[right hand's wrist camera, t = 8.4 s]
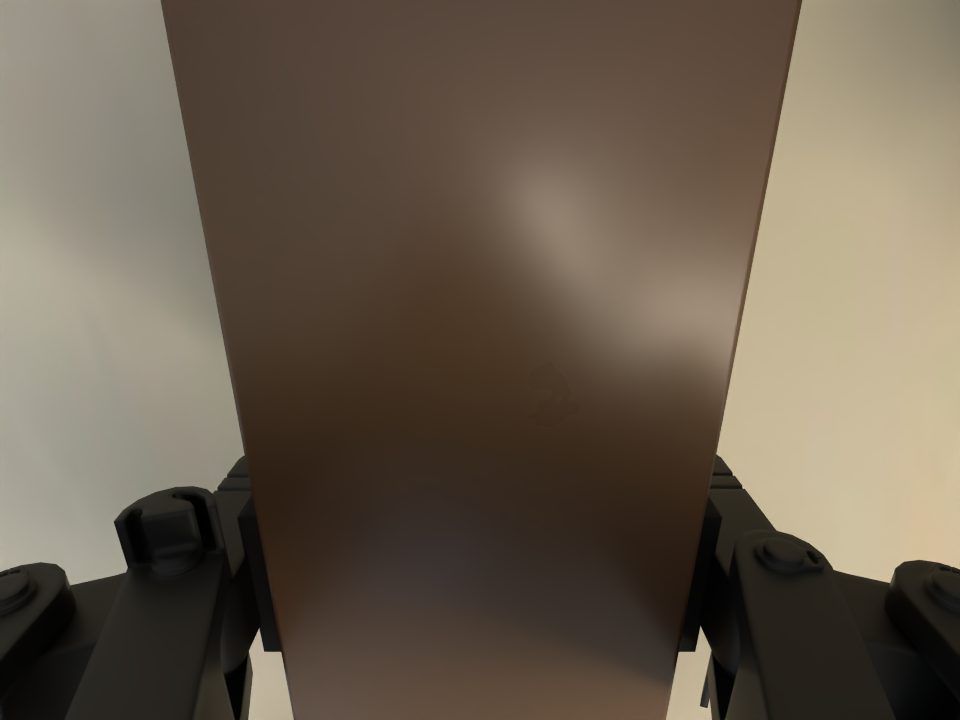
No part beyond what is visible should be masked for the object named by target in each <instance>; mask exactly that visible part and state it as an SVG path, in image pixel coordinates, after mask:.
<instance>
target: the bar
mask: <svg viewBox="0 0 960 720" xmlns="http://www.w3.org/2000/svg"><path fill="white" fill-rule="evenodd" d="M801 3H802V0H161V5H162V10H163V16H164V21H165V26H166V32H167V37H168V43H169V48H170V53H171V59H172V64H173V70H174V75H175V80H176V86H177V91H178V97H179V102H180V107H181V113H182V118H183V124H184V129H185V134H186V140H187V145H188V151H189V156H190V161H191V167H192V172H193V178H194V183H195V188H196V194H197V199H198V205H199V210H200V215H201V221H202V226H203V232H204V237H205V242H206V248H207V253H208V258H209V264H210V269H211V275H212V280H213V285H214V291H215V296H216V302H217V307H218V312H219V318H220V323H221V329H222V334H223V339H224V345H225V350H226V356H227V361H228V366H229V372H230V377H231V383H232V388H233V393H234V399H235V404H236V410H237V415H238V420H239V426H240V431H241V437H242V442H243V447H244V453H245V458H246V464H247V469H248V474H249V480H250V485H251V491H252V496H253V501H254V507H255V512H256V518H257V523H258V528H259V534H260V539H261V544H262V550H263V555H264V561H265V566H266V571H267V577H268V582H269V588H270V593H271V598H272V604H273V609H274V615H275V620H276V625H277V631H278V636H279V642H280V647H281V652H282V658H283V663H284V669H285V674H286V679H287V685H288V690H289V696H290V701H291V706H292V712H293V717H294V720H666V715H667V710H668V705H669V700H670V694H671V689H672V684H673V679H674V673H675V668H676V663H677V657H678V652H679V647H680V642H681V636H682V631H683V626H684V621H685V615H686V610H687V605H688V599H689V594H690V589H691V584H692V578H693V573H694V568H695V562H696V557H697V552H698V547H699V541H700V536H701V531H702V526H703V520H704V515H705V510H706V504H707V499H708V494H709V489H710V483H711V478H712V473H713V468H714V462H715V457H716V452H717V446H718V441H719V436H720V431H721V425H722V420H723V415H724V410H725V404H726V399H727V394H728V388H729V383H730V378H731V373H732V367H733V362H734V357H735V351H736V346H737V341H738V336H739V330H740V325H741V320H742V315H743V309H744V304H745V299H746V293H747V288H748V283H749V278H750V272H751V267H752V262H753V257H754V251H755V246H756V241H757V235H758V230H759V225H760V220H761V214H762V209H763V204H764V199H765V193H766V188H767V183H768V177H769V172H770V167H771V162H772V156H773V151H774V146H775V140H776V135H777V130H778V125H779V119H780V114H781V109H782V104H783V98H784V93H785V88H786V82H787V77H788V72H789V67H790V61H791V56H792V51H793V46H794V40H795V35H796V30H797V24H798V19H799V14H800V9H801Z"/></svg>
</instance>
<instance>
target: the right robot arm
mask: <svg viewBox="0 0 960 720" xmlns="http://www.w3.org/2000/svg"><path fill="white" fill-rule="evenodd" d="M114 524H115V527H116V530H117V534H118V537H119V540H120V543H121V547H122V550H123V553H124V556H125V560H126V563H127V566H128V569H127V571H126V573H122V574H119V575H115V576H111V577H107V578H102V579H98V580H93V581H88V582H84V583H79V584H75V585H70V584H69V581H68V579H67V576H66V573H65V571H64V570H63V569H62V568H60V567H59V566H58V565H56V564H50V563H42V562H40V563H33V564H27V565H20V566H18V567H14V568H10V569H9V570H5V571H2V572H0V720H248V715H249V705H250V696H251V686H252V676H253V671H252V665H251V659H250V655H249V649H250V647H251V645H252V643H253V640H254V638H255V636H256V634H257V631H258V629H259V628H260V633H261V637H262V642H263V647H264V652H281V647H280V642H279V636H278V631H277V625H276V620H275V615H274V609H273V604H272V598H271V593H270V588H269V582H268V577H267V571H266V566H265V561H264V555H263V550H262V544H261V539H260V534H259V528H258V523H257V518H256V512H255V507H254V501H253V496H252V491H251V485H250V480H249V474H248V469H247V464H246V458H245V455H244V456H243V457H242V458H240V459H239V460H238V461H237V462H236V464H235V465H234V466H233V468H232V469H231V470H230V472H229V473H228V474H227V478H224V480H223V481H222V482H221V484H220V485H219V486H218V490H217V491H215V492H214V493H213V494H212V493H211V492H210V491H208V490H207V489H203V488H199V487H194V486H189V487H175V488H170V489H166V490H162V491H158V492H155V493H153V494H151V495H148V496H146V497H144V498H141V499H139V500H137V501H136V502H134V503H133V504H132V505H130V506H129V507H127V508H126V509H124V510H123V511H122V512H121V513H120V515H119V516H118V517H117V518H116V520H115V521H114ZM700 625H701V628H702V630H703V632H704V634H705V636H706V639H707V641H708V643H709V645H710V647H711V655H710V659H709V664H708V668H707V673H706V678H705V682H704V687H703V691H702V697H701V703H700V706H701V707H705V708H707V707H708V703H709V699H710V704H711V714H712V720H960V569H957V568H954V567H950V566H948V565H944V564H941V563H937V562H930V561H923V560H915V561H907V562H903V563H902V564H901V565H899V566H898V567H897V568H896V569H895V571H894V574H893V577H892V580H891V582H890V583H887V582H882V581H878V580H873V579H868V578H864V577H859V576H855V575H850V574H846V573H842V572H839V571H835V570H833V568H832V566H831V565H830V563H829V562H828V560H827V559H826V558H825V556H824V555H823V554H822V553H821V552H819V551H818V550H817V549H816V548H814V547H813V546H812V545H810V544H809V543H807V542H805V541H803V540H801V539H799V538H797V537H795V536H793V535H790V534H787V533H783V532H779V531H776V529H775V528H774V527H773V526H772V524H771V523H770V522H769V520H768V519H767V518H766V516H765V515H764V514H763V512H762V511H761V510H760V508H759V507H758V506H757V504H756V503H755V502H754V500H753V499H752V498H751V497H750V495H749V494H748V493H747V491H746V490H745V489H742V485H741V483H740V482H739V481H738V479H737V478H736V477H735V476H733V473H732V471H731V470H730V469H729V468H728V466H727V465H726V464H725V462H724V461H723V460H722V458H721V457H719V456H718V455H716V457H715V462H714V468H713V473H712V478H711V483H710V489H709V494H708V499H707V504H706V510H705V515H704V520H703V526H702V531H701V536H700V541H699V547H698V552H697V557H696V562H695V568H694V573H693V578H692V584H691V589H690V594H689V599H688V605H687V610H686V615H685V621H684V626H683V631H682V636H681V642H680V647H679V652H695V650H696V645H697V640H698V635H699V630H700Z"/></svg>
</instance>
